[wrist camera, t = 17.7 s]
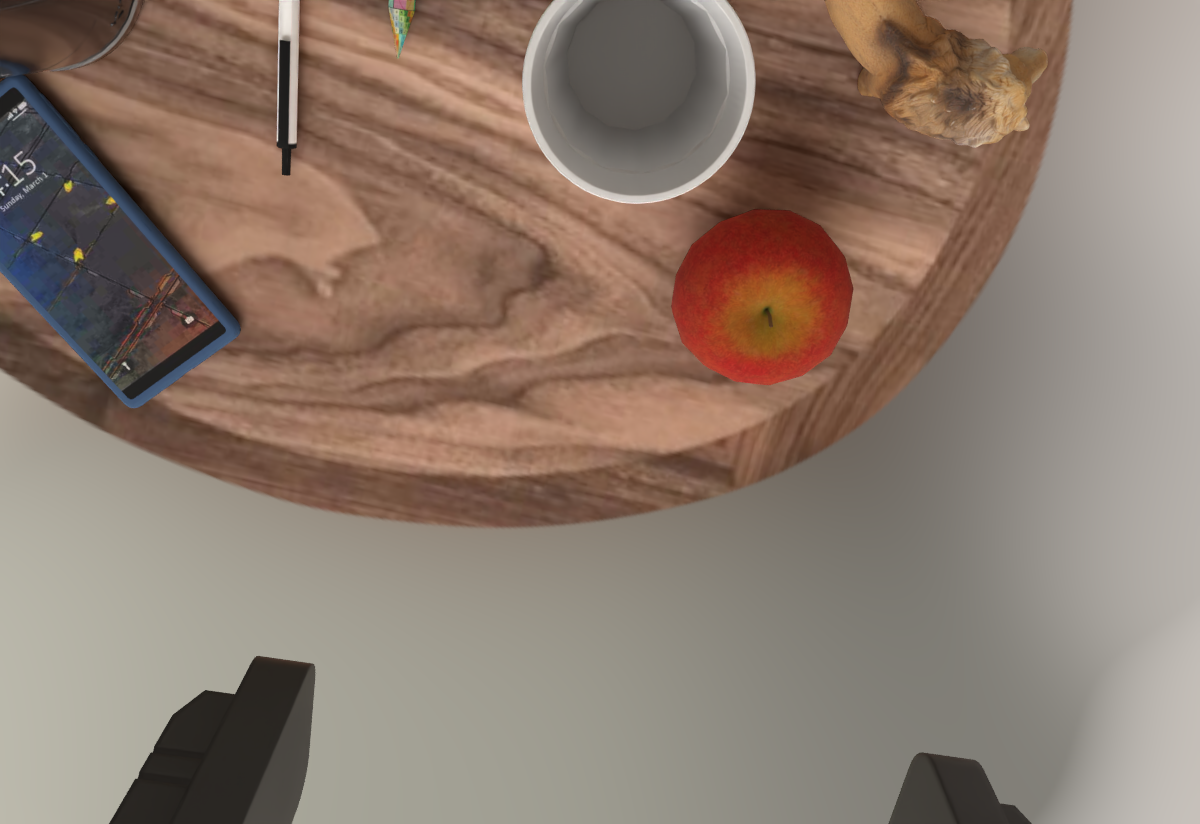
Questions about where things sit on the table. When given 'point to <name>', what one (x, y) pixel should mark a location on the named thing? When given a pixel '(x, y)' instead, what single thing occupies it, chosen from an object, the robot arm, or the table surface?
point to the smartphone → (97, 257)
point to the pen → (287, 79)
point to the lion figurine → (936, 72)
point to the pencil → (400, 20)
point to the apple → (762, 297)
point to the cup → (638, 93)
